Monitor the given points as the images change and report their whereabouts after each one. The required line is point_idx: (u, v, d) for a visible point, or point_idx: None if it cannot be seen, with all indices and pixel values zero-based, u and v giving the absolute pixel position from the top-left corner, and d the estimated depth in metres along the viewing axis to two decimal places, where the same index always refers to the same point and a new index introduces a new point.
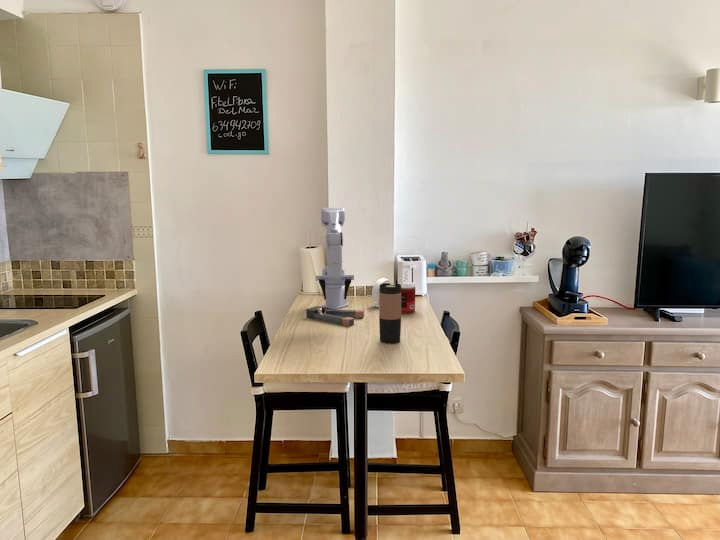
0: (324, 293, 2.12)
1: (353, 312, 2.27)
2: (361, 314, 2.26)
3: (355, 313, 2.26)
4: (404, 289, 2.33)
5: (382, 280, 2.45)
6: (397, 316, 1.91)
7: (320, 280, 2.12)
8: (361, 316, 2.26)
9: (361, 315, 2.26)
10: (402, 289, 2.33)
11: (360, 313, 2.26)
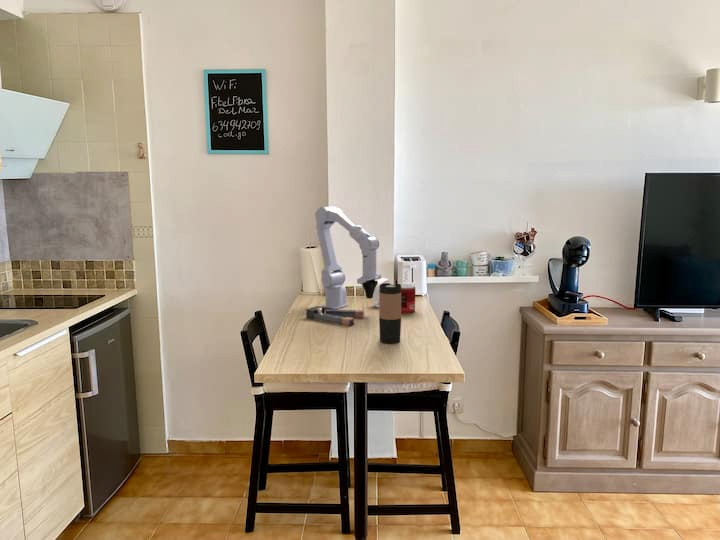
0: (371, 293, 2.31)
1: (353, 312, 2.27)
2: (361, 314, 2.26)
3: (355, 313, 2.26)
4: (404, 289, 2.33)
5: (382, 280, 2.45)
6: (397, 316, 1.91)
7: (368, 281, 2.29)
8: (361, 316, 2.26)
9: (361, 315, 2.26)
10: (402, 289, 2.33)
11: (360, 313, 2.26)
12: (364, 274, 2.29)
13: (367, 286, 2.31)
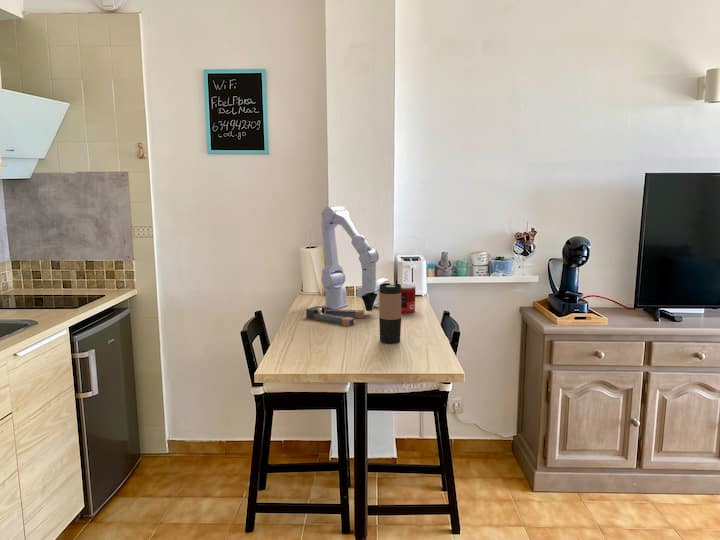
0: (371, 305, 2.32)
1: (353, 312, 2.27)
2: (361, 314, 2.26)
3: (355, 313, 2.26)
4: (404, 289, 2.33)
5: (382, 280, 2.45)
6: (397, 316, 1.91)
7: (367, 294, 2.30)
8: (361, 316, 2.26)
9: (361, 315, 2.26)
10: (402, 289, 2.33)
11: (360, 313, 2.26)
12: (363, 287, 2.30)
13: (366, 299, 2.32)
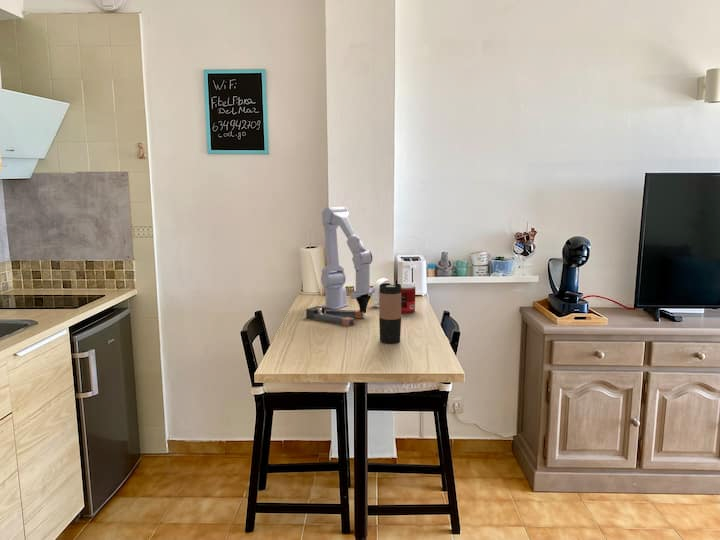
0: (365, 307, 2.28)
1: (353, 312, 2.26)
2: (361, 314, 2.25)
3: (355, 313, 2.26)
4: (404, 289, 2.33)
5: (382, 280, 2.45)
6: (397, 316, 1.91)
7: (362, 296, 2.26)
8: (361, 316, 2.26)
9: (361, 315, 2.26)
10: (402, 289, 2.33)
11: (360, 313, 2.25)
12: (357, 289, 2.26)
13: (361, 300, 2.29)
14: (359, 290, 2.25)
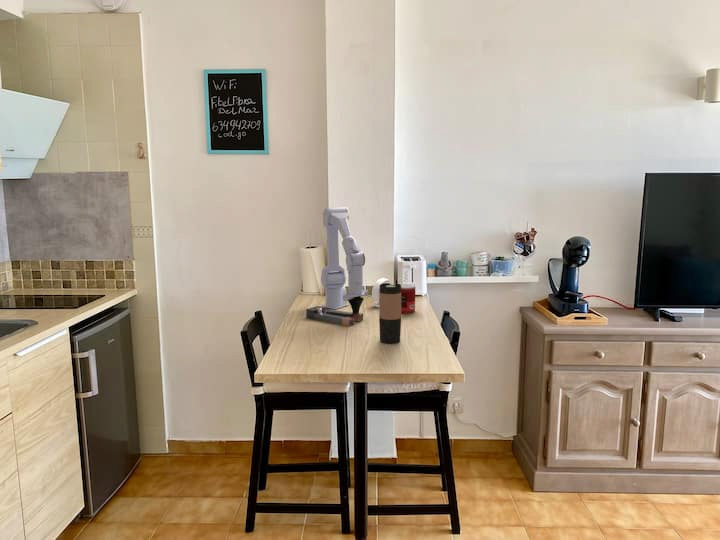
0: (358, 309, 2.24)
1: (350, 315, 2.22)
2: (358, 317, 2.21)
3: (352, 316, 2.22)
4: (404, 289, 2.33)
5: (382, 280, 2.45)
6: (397, 316, 1.91)
7: (354, 298, 2.23)
8: (358, 319, 2.21)
9: (358, 318, 2.21)
10: (402, 289, 2.33)
11: (357, 316, 2.21)
12: (350, 291, 2.22)
13: (354, 303, 2.25)
14: (352, 292, 2.22)
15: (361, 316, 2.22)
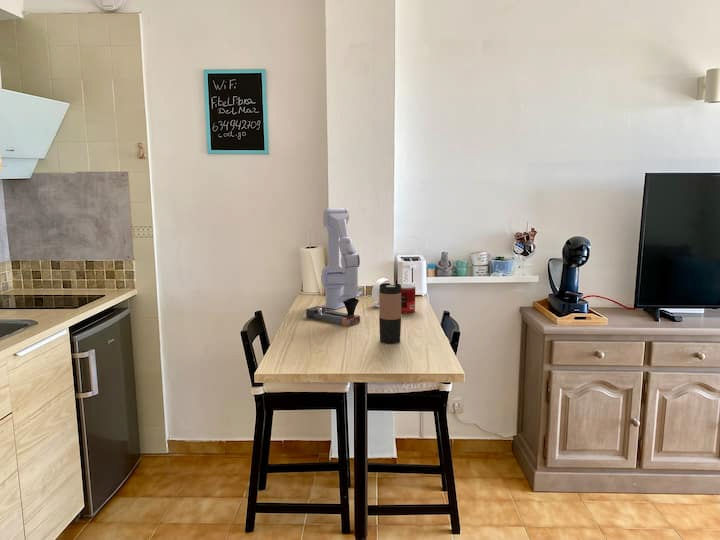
0: (353, 311, 2.22)
1: (347, 316, 2.20)
2: None
3: None
4: (404, 289, 2.33)
5: (382, 280, 2.45)
6: (397, 316, 1.91)
7: (349, 299, 2.20)
8: None
9: None
10: (402, 289, 2.33)
11: None
12: (345, 292, 2.19)
13: (349, 304, 2.22)
14: (347, 294, 2.19)
15: (357, 318, 2.19)
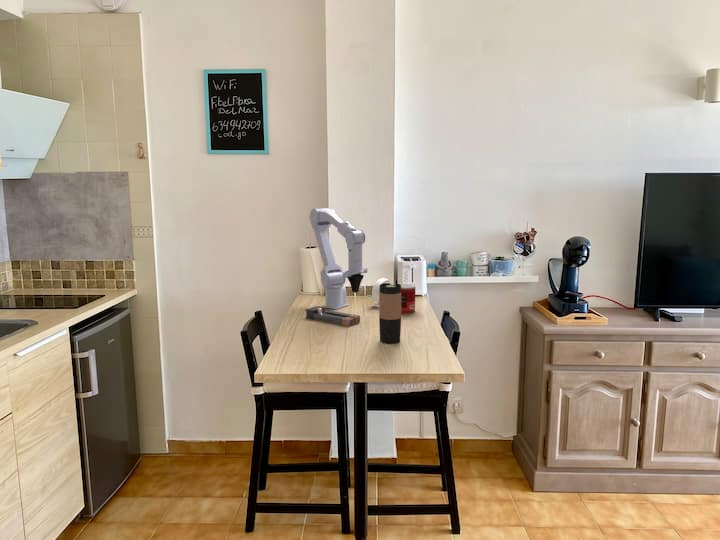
0: (357, 287, 2.31)
1: (347, 316, 2.20)
2: None
3: None
4: (404, 289, 2.33)
5: (382, 280, 2.45)
6: (397, 316, 1.91)
7: (353, 275, 2.29)
8: None
9: None
10: (402, 289, 2.33)
11: None
12: (350, 268, 2.29)
13: (353, 280, 2.31)
14: (351, 269, 2.28)
15: (357, 318, 2.19)
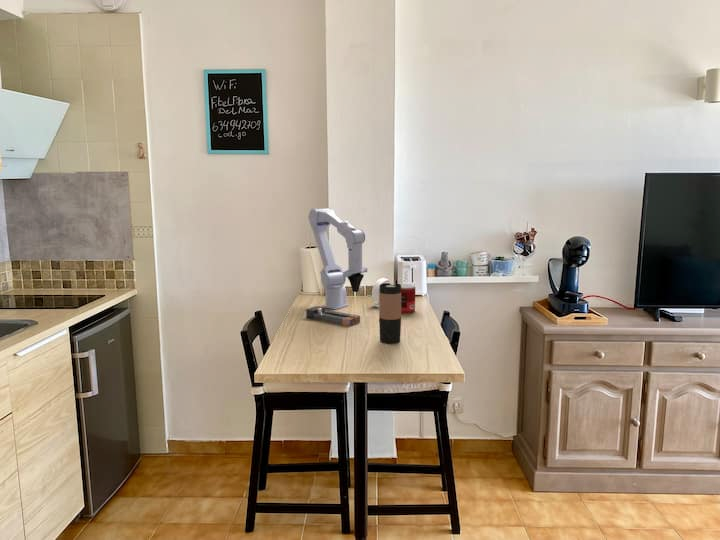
0: (357, 286, 2.31)
1: (347, 316, 2.20)
2: None
3: None
4: (404, 289, 2.33)
5: (382, 280, 2.45)
6: (397, 316, 1.91)
7: (353, 275, 2.29)
8: None
9: None
10: (402, 289, 2.33)
11: None
12: (350, 267, 2.29)
13: (353, 279, 2.31)
14: (352, 269, 2.29)
15: (357, 318, 2.19)
